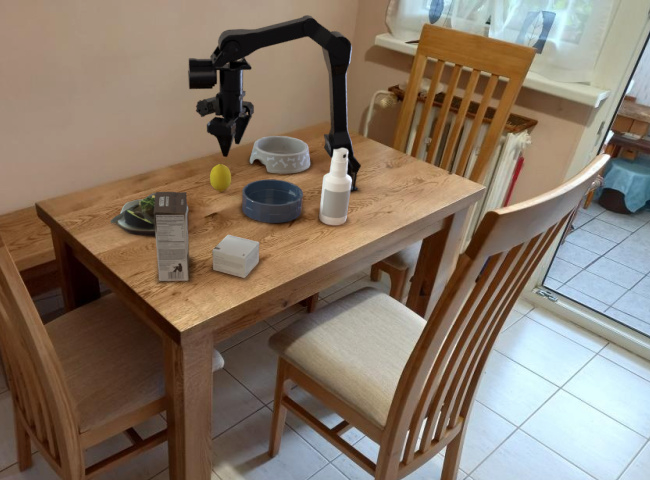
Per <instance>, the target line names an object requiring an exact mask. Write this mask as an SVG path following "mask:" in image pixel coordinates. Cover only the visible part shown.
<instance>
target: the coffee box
mask: <svg viewBox="0 0 650 480" xmlns="http://www.w3.org/2000/svg"><path fill="white" fill-rule="evenodd" d="M154 193H155V204H154V220H155V233H156V236H155V244H156V257H157V259H156V260H157V271H158V272H157V273H158V281H159V282H188V281H189V280H190V243H189V241H190V240H189V217H188V216H189V215H188V216H187V206H188V199H187V192H186V191H181V192H180V191H178V192H176V191H156V192H154Z"/></svg>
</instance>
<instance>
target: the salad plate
mask: <svg viewBox="0 0 650 480" xmlns="http://www.w3.org/2000/svg"><path fill="white" fill-rule="evenodd" d="M155 193H156V192H152V193H150V194H149V195H147V196H146V197H144V198H141V199H140V198H139V199H133V200H130V201H128V202H126V203H124V205H123V206H122V208H121V210H120V213H119V214H117V215H115V216H114V217H113V218H112V219H110V220H109V221H110V224H114V225H116V226H118V227H119V228H121V229H122V230H123V231H124V232H125V233H128V234H131V235H135V236H148V237H156V233H155V220H154V204H155ZM187 216H189V205H187Z"/></svg>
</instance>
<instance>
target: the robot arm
mask: <svg viewBox="0 0 650 480" xmlns="http://www.w3.org/2000/svg"><path fill="white" fill-rule="evenodd" d="M303 38H309V39H311V40H312V41H313V42H315V43H316V45H319V46H320V47H321V50H322V56H323V59H324V62H325V66H326V70H327V74H328V90H329V91H328V93H329V114H330V115H329V116H330V130H329V132H328V133H324V134H323V138H324V147H323V149H324V150H325V152H326V154H327V155H328V156H329V158H330V160H332V157H333V151H334V149H340V148H345V149H347V150H348V166H347V175H349V176H350V177H351V179H352V183H351V190H350V193H352V192H357V191H359V188H358V187H357V186H356V183H357V177H358V173H359V172H360V169H361V167H362V164H361V163H360V162H359V160H358V159H357V158H356V156H355V152H354V147H353V142H352V139H351V136H350V133H349V128H348V93H347V92H348V91H347V90H348V89H347V88H348V87H347V74H348V71H349V70H348V69H349V67H350V63H351V57H352V51H353V46H352V43H351V41H350V39H349V38H347V37H346V36H345V35H344V34H342V33H341V32H340V31H337V30H332V31H330V30H329V29H327V28H326V27H325V26H324V25H322V24H321V23H319V22H318V21H317V20H316V19H315V18H314V17H313V16H312V15H308V14H307V15H303V16H301V17H298V18H294V19H289V20H286V21H283V22H278V23H275V24H271V25H265V26H262V27H258V28H254V29H253V28H252V29H250V28H249V29H248V28H235V29H234V28H233V29H226V30H224V31H222V32H221V33H220V35H219V37H218V39H217V46H216V47H215V49H214V50H213V52H212V53H211V54H210V56H209V58H195V57H194V58H193V57H189V58H188V70H187V79H188V80H187V81H188V89H189V90H212V89H213V88H214V87H216V85H218V84H219V91H218V92H217V93H216V94H215V96H212V97H209V98H204V99H202V100H201V99H200V100H198V101H197V102H196V105H195V107H196V110H195V112H196V113H197V114H198V115H199V116H200V117H201V118H204V117H206V116H208V115H212V114H214V115H215V116H214V117H213V118H211V119H210V120H209V121H208V122H207V124H206V133H208V134H209V135H211V136H214V137H215V139H216V140H217V143H218V145H219V148H220V152H221V154H222V158H223V157H224V158H228V157H229V153H230V151H231V148H232V145H233V142H234V144H235V145H240V144H241V142H242V139H243V137H244V135H245V132H246V130H247V127H248V126H249V124H250V121H251V119H252V117H253V115H254V113H255V105H254V104H253V103H252V101H246V100H244V97H245V96H246V94H247V93H246V90H244V71H251V70H252V65H251V64H250V62H248V60H247V59H246V57H249V56H251V54H253V53H254V52H256V51H258V50H260V49H265V48H267V47H271V46H275V45H279V44H284V43H287V42H292V41H295V40H299V39H303ZM218 73H219V74H218ZM218 76H219V77H218ZM218 78H219V80H218ZM218 82H219V83H218Z"/></svg>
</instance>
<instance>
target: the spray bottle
mask: <svg viewBox="0 0 650 480" xmlns="http://www.w3.org/2000/svg"><path fill="white" fill-rule="evenodd" d="M330 160H331V162H330V167H329V172H327V173H326V174H324V175H323V177H322V185H321V195H320V204H319V213H318V218H319V221H320V222H321V223H323V224H324V225H328V226H340V225H341V226H342V225H343V224H345V223H346V222H347V220H348V219H347V218H348V210H349V203H350V197H351V192H350V190H351V183H352V179H351V177H350V176H349V175H347V166H348V150H347V149H345V148H340V149H334V151H333V157H332V159H330Z"/></svg>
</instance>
